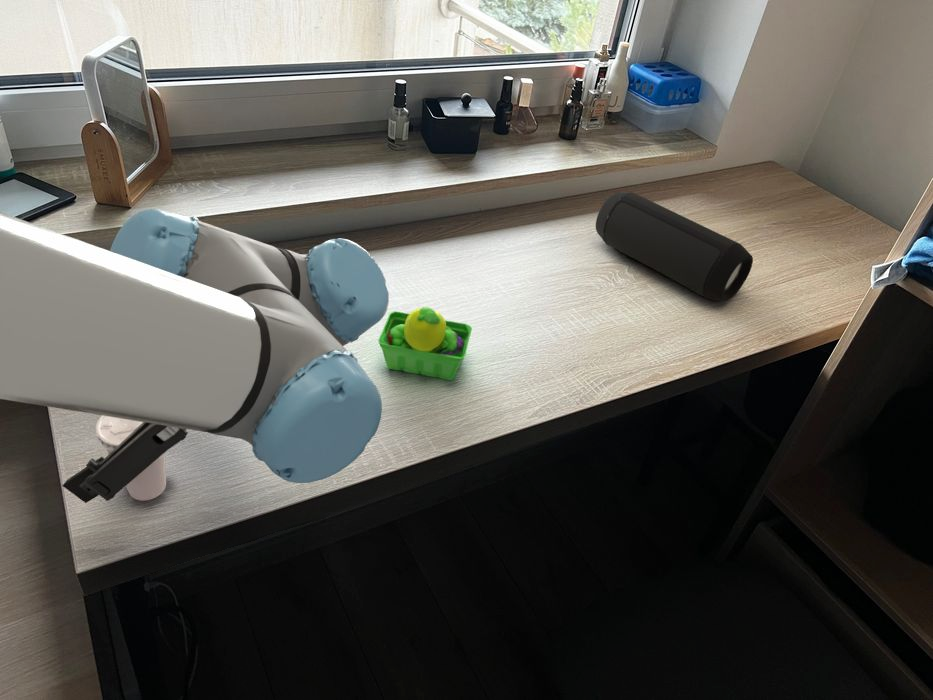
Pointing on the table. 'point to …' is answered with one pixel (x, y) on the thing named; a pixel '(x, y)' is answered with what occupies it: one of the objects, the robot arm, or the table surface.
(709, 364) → the table surface
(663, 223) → the portable speaker
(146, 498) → the smoothie
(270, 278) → the robot arm
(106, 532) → the table surface
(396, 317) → the fruit basket
